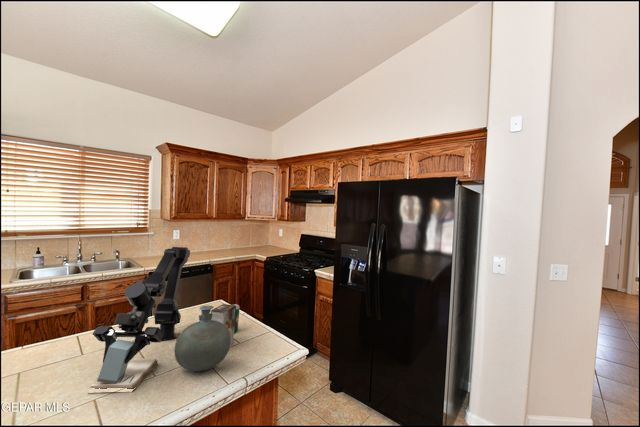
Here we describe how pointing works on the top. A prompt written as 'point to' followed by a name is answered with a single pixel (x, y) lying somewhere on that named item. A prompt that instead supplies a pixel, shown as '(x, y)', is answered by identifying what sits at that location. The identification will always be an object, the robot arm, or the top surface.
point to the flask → (202, 343)
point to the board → (130, 374)
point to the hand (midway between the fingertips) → (114, 363)
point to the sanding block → (115, 362)
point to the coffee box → (225, 317)
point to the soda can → (236, 318)
